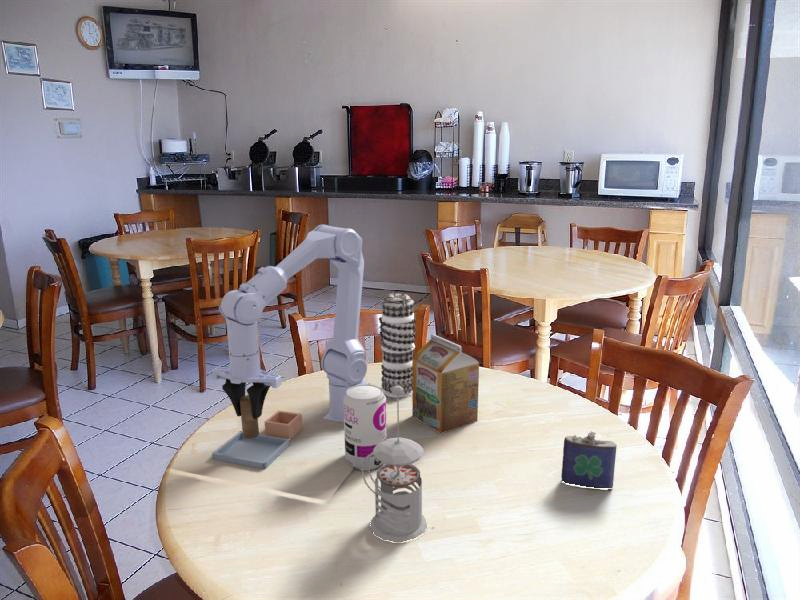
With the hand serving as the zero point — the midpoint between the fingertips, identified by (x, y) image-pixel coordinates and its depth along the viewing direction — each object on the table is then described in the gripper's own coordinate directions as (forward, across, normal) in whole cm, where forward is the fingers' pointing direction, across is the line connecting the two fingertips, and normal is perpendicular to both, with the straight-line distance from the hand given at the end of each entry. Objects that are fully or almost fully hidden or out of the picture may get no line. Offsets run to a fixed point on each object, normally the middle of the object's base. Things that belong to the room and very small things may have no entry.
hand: (249, 415), depth 122 cm
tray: (+9, 0, 0) cm, 9 cm away
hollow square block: (+9, +2, +10) cm, 13 cm away
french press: (+9, +35, -12) cm, 38 cm away
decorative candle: (+9, +18, +39) cm, 44 cm away
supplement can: (+9, +23, +5) cm, 25 cm away
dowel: (+4, 0, 0) cm, 4 cm away
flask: (+9, +65, +10) cm, 66 cm away
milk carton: (+9, +33, +28) cm, 44 cm away
